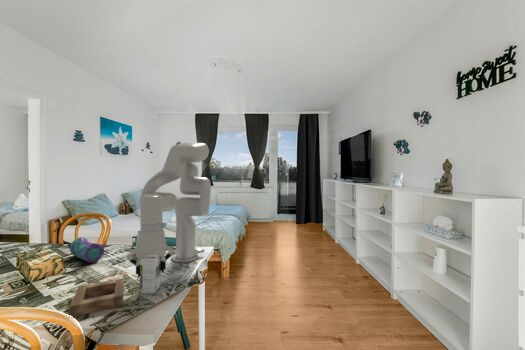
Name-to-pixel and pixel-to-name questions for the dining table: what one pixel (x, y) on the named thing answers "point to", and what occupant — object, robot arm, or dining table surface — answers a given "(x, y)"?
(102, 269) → the dining table surface
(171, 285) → the dining table surface
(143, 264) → the syrup box
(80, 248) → the pencil case
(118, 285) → the walnut collar
